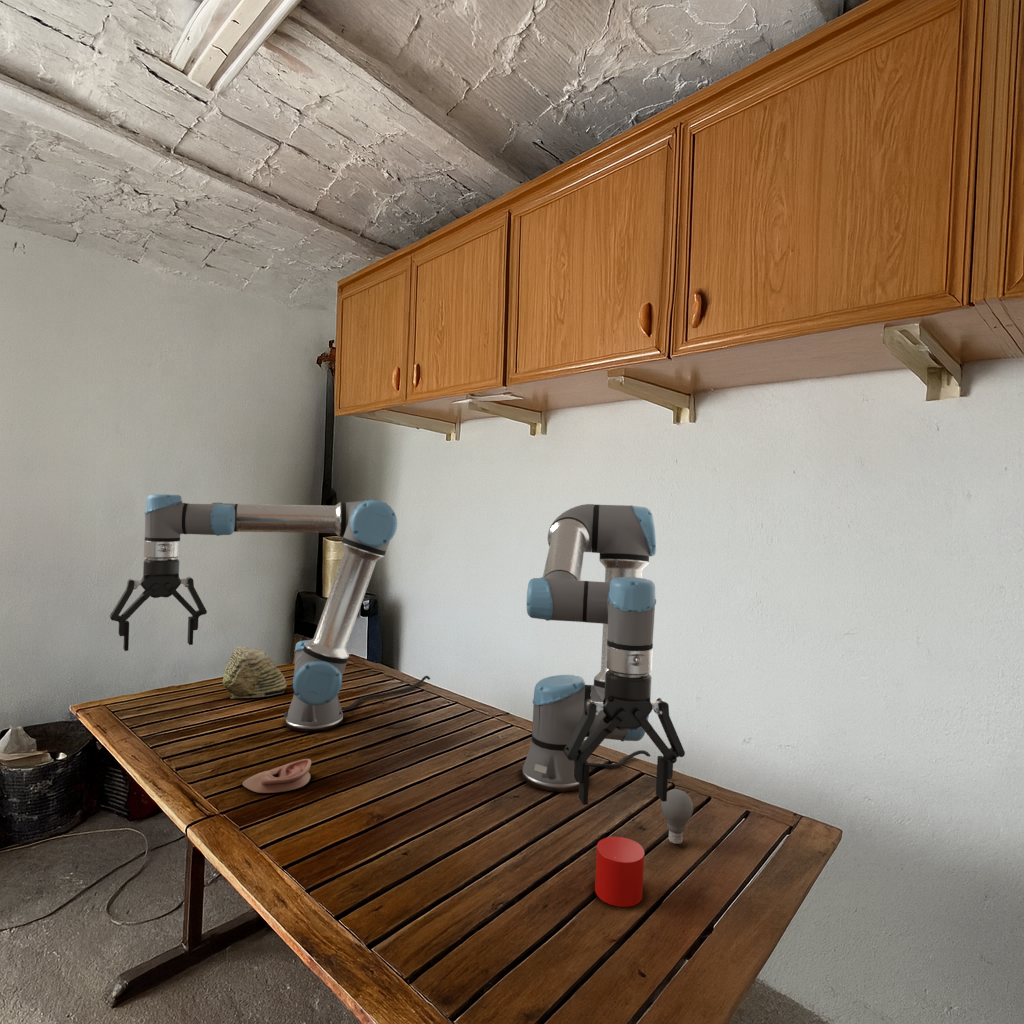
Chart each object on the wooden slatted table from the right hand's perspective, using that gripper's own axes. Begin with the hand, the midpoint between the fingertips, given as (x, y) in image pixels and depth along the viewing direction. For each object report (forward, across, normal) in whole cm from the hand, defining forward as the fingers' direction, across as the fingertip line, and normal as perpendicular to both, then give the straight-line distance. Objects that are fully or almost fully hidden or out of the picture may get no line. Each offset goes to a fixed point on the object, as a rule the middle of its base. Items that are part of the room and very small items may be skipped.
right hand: (622, 799), depth 105 cm
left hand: (-10, -94, +65) cm, 114 cm away
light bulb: (+16, +16, +14) cm, 26 cm away
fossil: (+15, -80, +109) cm, 136 cm away
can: (+16, 0, 0) cm, 16 cm away
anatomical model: (+16, -62, +46) cm, 79 cm away
